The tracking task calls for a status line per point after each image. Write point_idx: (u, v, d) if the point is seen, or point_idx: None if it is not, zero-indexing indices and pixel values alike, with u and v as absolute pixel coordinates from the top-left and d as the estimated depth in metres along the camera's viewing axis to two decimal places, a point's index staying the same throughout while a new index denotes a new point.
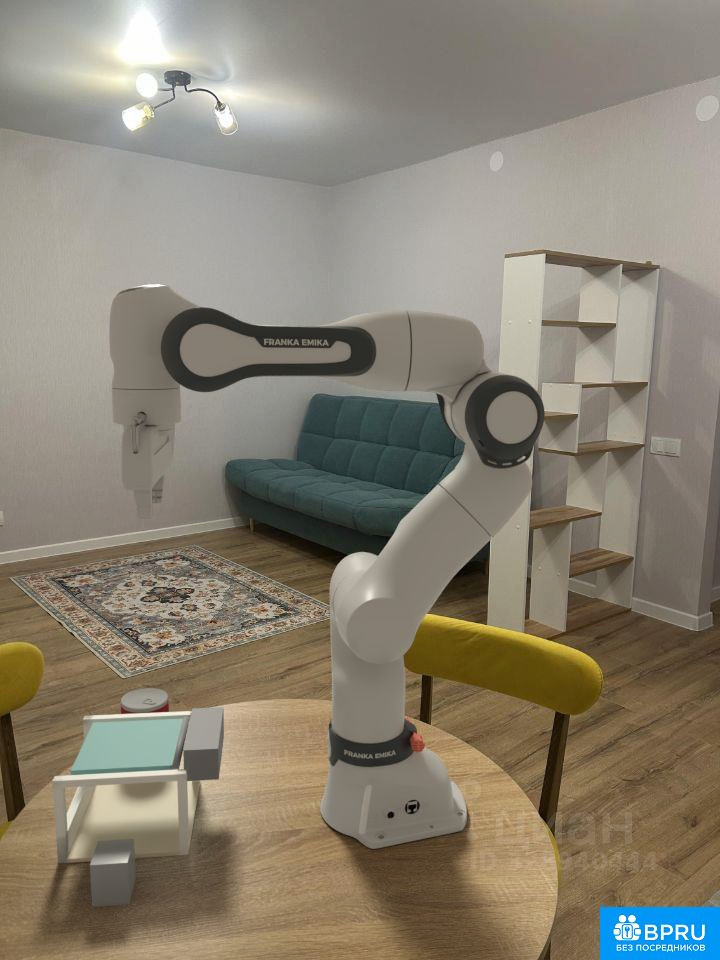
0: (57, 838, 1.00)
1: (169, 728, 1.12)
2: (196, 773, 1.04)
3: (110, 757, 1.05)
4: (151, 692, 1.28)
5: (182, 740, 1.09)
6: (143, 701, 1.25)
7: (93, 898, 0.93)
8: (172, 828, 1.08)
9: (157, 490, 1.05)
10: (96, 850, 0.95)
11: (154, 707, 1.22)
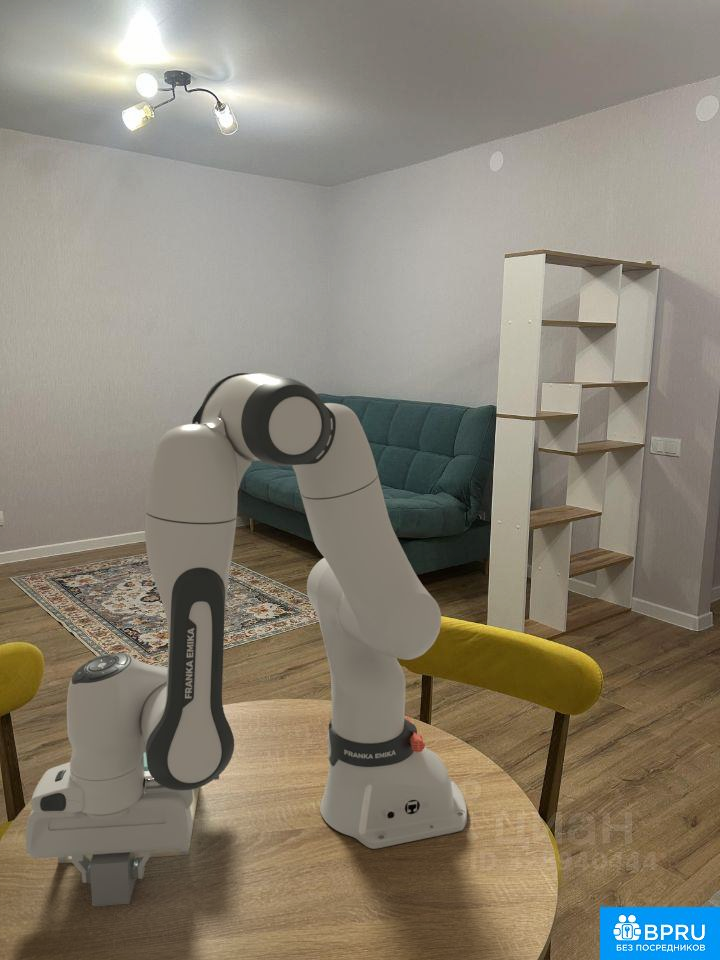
0: None
1: None
2: None
3: None
4: None
5: None
6: None
7: (93, 897, 0.93)
8: None
9: None
10: None
11: None
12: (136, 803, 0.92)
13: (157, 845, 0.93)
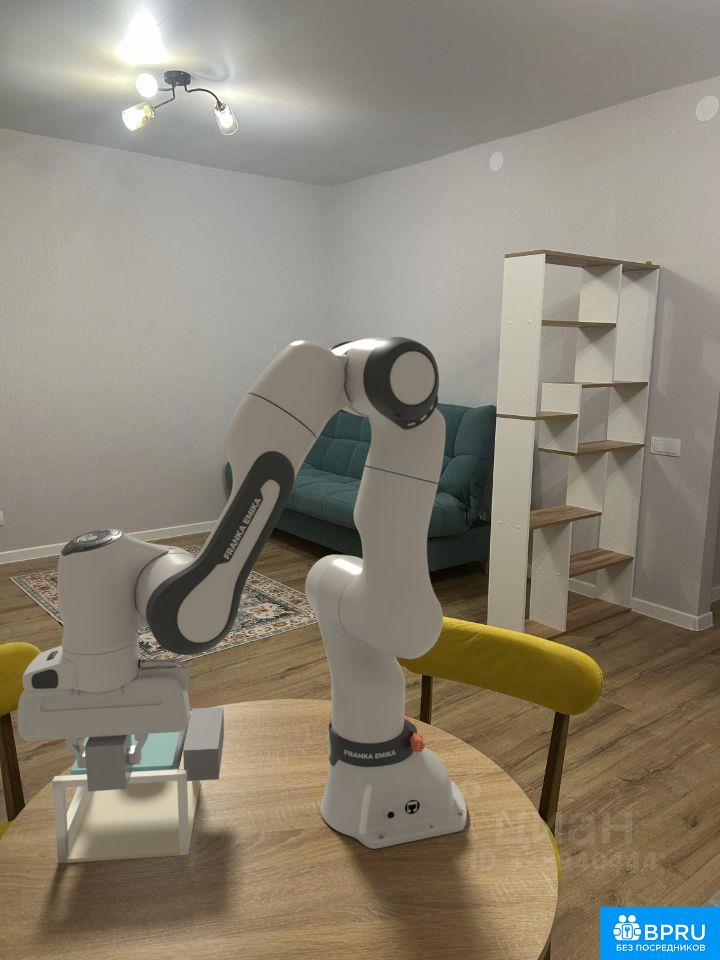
0: (57, 838, 1.00)
1: None
2: (196, 773, 1.04)
3: None
4: None
5: (182, 740, 1.09)
6: None
7: (88, 782, 0.90)
8: (172, 828, 1.08)
9: None
10: None
11: None
12: (131, 683, 0.89)
13: (153, 728, 0.91)
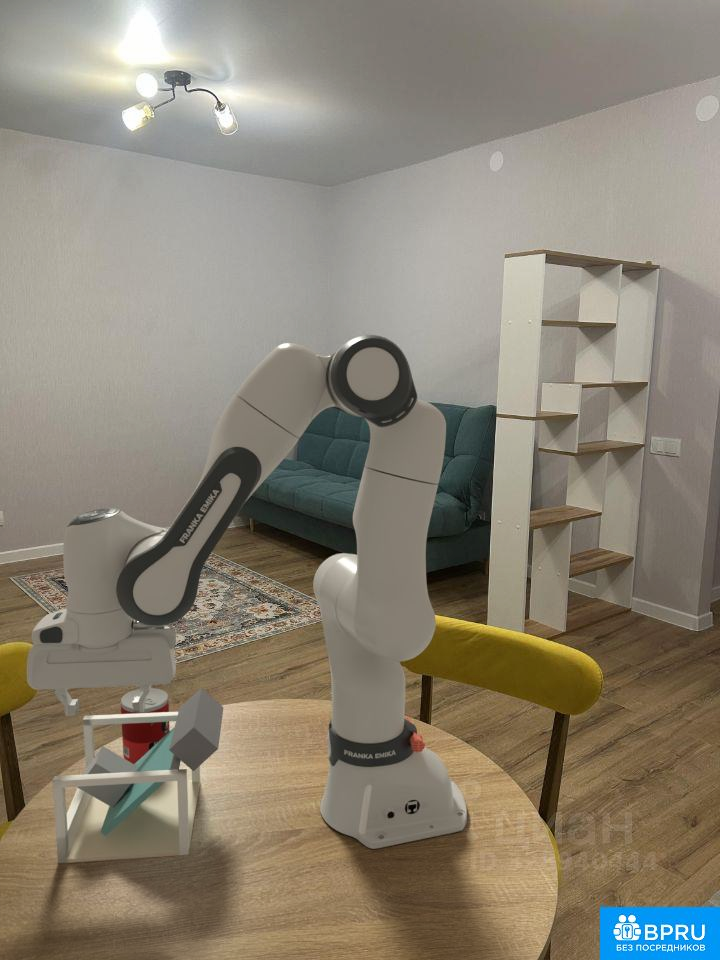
0: (57, 838, 1.00)
1: (171, 737, 1.13)
2: (196, 758, 1.04)
3: (128, 797, 1.06)
4: (151, 692, 1.28)
5: None
6: None
7: (105, 802, 1.07)
8: (172, 828, 1.08)
9: (73, 701, 1.06)
10: None
11: (154, 707, 1.22)
12: (125, 640, 1.04)
13: (144, 680, 1.05)
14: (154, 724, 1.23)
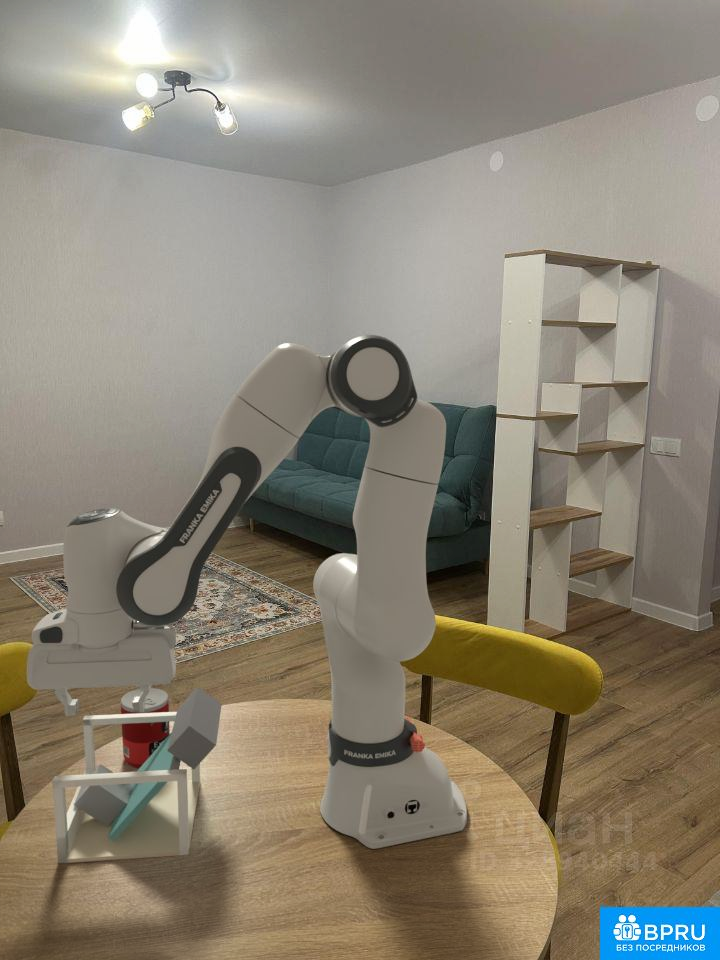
0: (57, 838, 1.00)
1: None
2: (195, 756, 1.03)
3: (132, 801, 1.06)
4: (151, 692, 1.28)
5: None
6: None
7: (101, 821, 1.08)
8: (172, 828, 1.08)
9: (73, 701, 1.06)
10: (79, 792, 1.09)
11: (154, 707, 1.22)
12: (125, 640, 1.04)
13: (144, 680, 1.05)
14: (154, 724, 1.23)
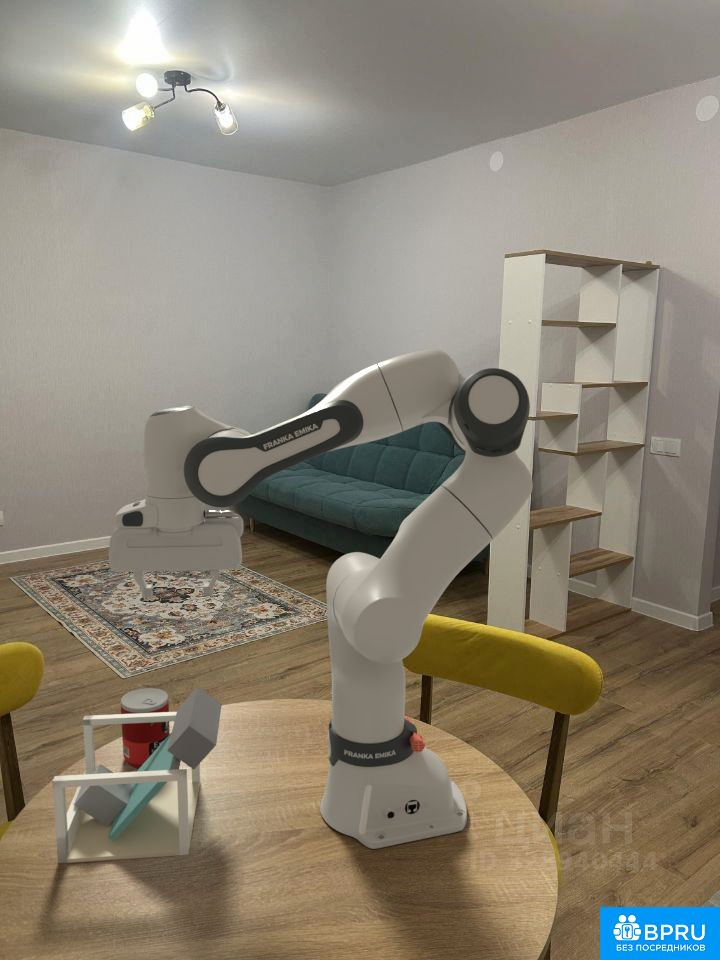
0: (57, 838, 1.00)
1: None
2: (195, 756, 1.03)
3: (132, 801, 1.06)
4: (151, 692, 1.28)
5: None
6: (143, 701, 1.25)
7: (101, 821, 1.08)
8: (172, 828, 1.08)
9: (148, 585, 1.16)
10: (79, 792, 1.09)
11: (154, 707, 1.22)
12: (198, 527, 1.13)
13: (214, 565, 1.14)
14: (154, 724, 1.23)
